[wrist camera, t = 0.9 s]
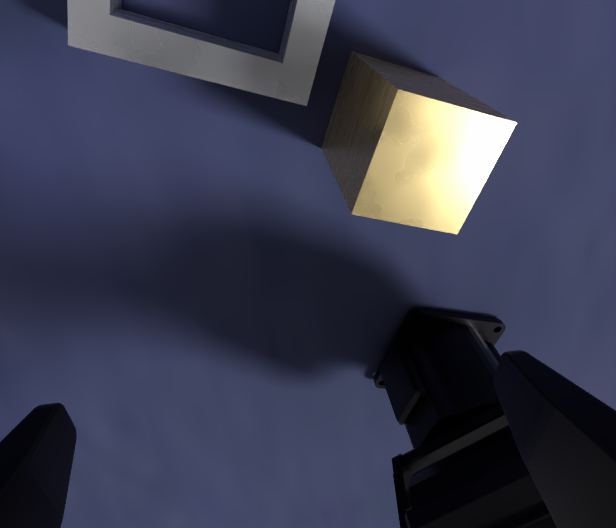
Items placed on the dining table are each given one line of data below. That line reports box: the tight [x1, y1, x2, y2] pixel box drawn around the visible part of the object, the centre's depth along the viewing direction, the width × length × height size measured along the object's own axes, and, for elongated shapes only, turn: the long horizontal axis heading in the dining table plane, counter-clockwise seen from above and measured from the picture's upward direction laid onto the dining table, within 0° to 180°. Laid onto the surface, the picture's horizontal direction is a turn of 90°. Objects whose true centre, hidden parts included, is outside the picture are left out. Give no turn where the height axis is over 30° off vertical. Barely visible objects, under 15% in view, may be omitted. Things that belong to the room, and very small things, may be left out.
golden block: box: [321, 51, 517, 234], centre depth 16 cm, size 4×4×6 cm
